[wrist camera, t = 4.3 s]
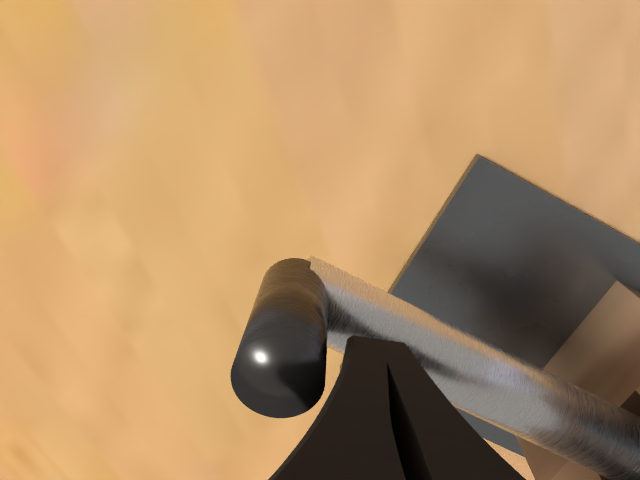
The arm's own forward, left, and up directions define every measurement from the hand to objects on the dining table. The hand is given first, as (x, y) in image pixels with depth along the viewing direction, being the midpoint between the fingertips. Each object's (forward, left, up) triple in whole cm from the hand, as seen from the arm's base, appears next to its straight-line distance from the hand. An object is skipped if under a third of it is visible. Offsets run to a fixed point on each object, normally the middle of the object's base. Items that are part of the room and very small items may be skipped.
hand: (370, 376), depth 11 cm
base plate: (-7, +7, -8) cm, 12 cm away
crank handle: (-2, +2, -3) cm, 5 cm away
